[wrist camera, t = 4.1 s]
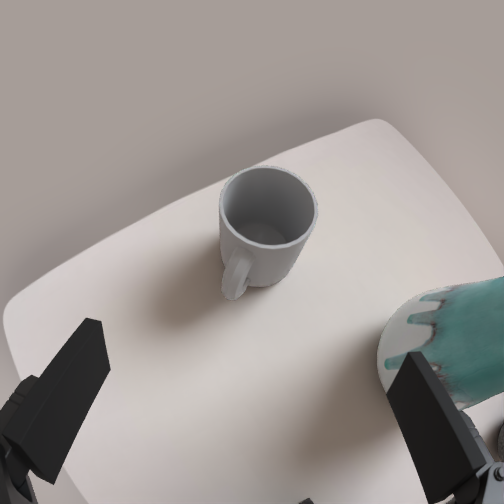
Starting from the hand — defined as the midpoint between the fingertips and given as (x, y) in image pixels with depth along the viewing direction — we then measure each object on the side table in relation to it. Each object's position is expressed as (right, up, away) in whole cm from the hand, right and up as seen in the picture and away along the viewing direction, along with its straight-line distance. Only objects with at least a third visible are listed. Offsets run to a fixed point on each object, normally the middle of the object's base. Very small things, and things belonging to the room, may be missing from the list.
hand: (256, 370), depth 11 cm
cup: (0, +3, +18) cm, 18 cm away
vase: (+16, -6, +15) cm, 23 cm away
